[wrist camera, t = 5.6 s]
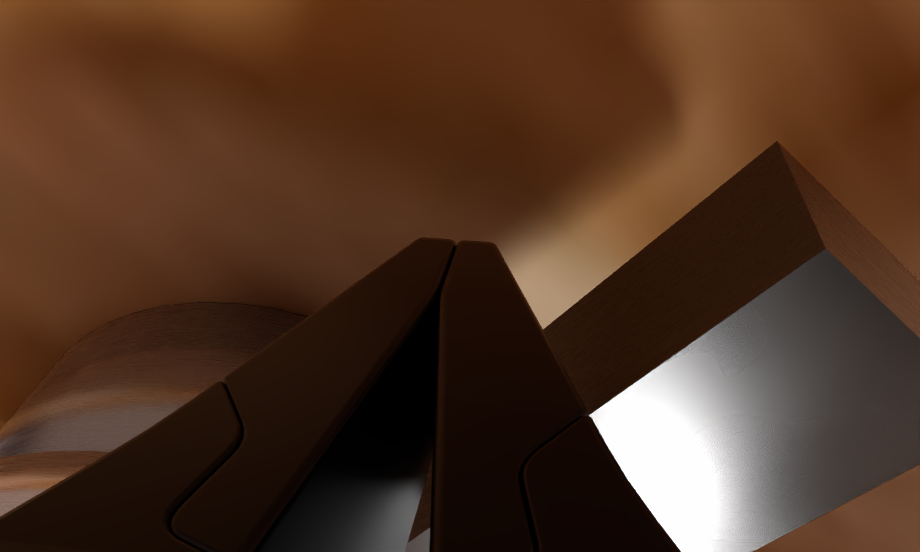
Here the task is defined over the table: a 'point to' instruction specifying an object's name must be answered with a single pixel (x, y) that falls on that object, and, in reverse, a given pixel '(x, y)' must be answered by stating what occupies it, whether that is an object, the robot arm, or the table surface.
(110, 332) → the pot
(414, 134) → the table surface
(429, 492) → the lid
